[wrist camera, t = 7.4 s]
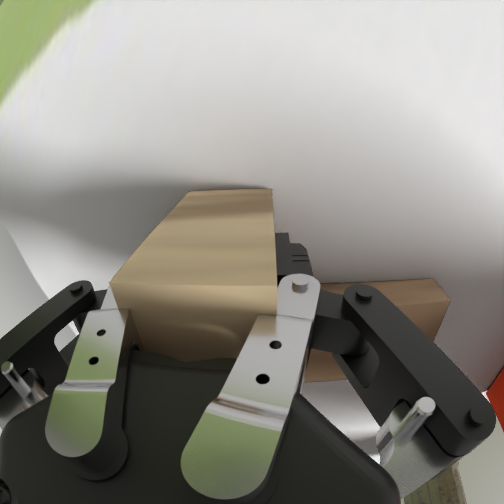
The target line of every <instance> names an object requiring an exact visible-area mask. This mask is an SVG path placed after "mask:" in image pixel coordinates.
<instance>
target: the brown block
mask: <svg viewBox="0 0 504 504" xmlns="http://www.w3.org/2000/svg"><path fill="white" fill-rule="evenodd" d="M355 284H365V285H369V286H372V287H374V288H376V289H378V290H379V291H380V292H381V293H382V294H383V295H385V296H386V297H387V298H388V299H389V300H390V301H391V302H392V303H393V304H394V305H395V306H396V307H397V308H398V309H400V310H401V311H402V312H403V313H404V314H405V315H406V316H407V317H408V318H409V319H410V320H411V321H412V322H413V323H414V324H415V325H416V326H417V327H418V328H419V329H420V330H421V331H422V332H423V333H424V334H425V335H426V336H427V337H428V338H429V339H430V340H431V341H432V342H433V341H434V338H435V336H436V334H437V332H438V330H439V327H440V325H441V323H442V320H443V318H444V315H445V313H446V311H447V308H448V305H449V303H450V299H449V298H448V296H447V295H446V294H445V292H444V291H443V290H442V289H441V287H440V286H439V285H438V284H437V282H436V281H435V280H434V279H418V280H401V281H382V282H360V283H333V284H320V288H322V289H323V290H326V291H328V292H332V293H337V294H342V295H343V294H344V290H345V289H346V288H347V287H349V286H351V285H355ZM345 379H347V377H346V376H345V374H344V373H343V371H342V370H341V368H340V367H339V365H338V364H337V362H336V361H335V359H334V358H333V356H332V353H331V352H326V351H321V350H317V349H311V354H310V358H309V363H308V367H307V371H306V375H305V379H304V382H320V381H333V380H345Z"/></svg>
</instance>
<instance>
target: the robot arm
mask: <svg viewBox="0 0 504 504" xmlns="http://www.w3.org/2000/svg"><path fill="white" fill-rule="evenodd" d="M275 249H276V268H277V315H275V314H260V313H259V315H258V317H257V319H256V321H255V323H254V325H253V327H252V329H251V332H250V334H249V336H248V338H247V340H246V342H245V344H244V346H243V348H242V350H241V352H240V354H239V356H238V358H215V359H208V360H200V361H192V362H184V361H180V360H177V359H174V358H171V357H168V356H165V355H162V354H159V353H156V352H148V351H145V349H144V346H143V344H142V341H141V339H140V336H139V333H138V331H137V328H136V325H135V323H134V320H133V317H132V314H131V311H130V308H118V307H117V304H116V301H115V299H114V296H113V293H112V290H111V287H110V285H109V288H108V289H106V290H100V291H94V289H93V286H92V284H91V282H89V281H78V282H75V283H72V284H70V285H69V286H67V287H66V288H65V289H63V290H62V291H61V292H59V293H58V294H56V295H55V296H54V297H52V298H51V299H50V300H48V301H47V302H46V303H44V304H43V305H42V306H41V307H39V308H38V309H37V310H35V311H34V312H33V313H32V314H30V315H29V316H28V317H26V318H25V319H24V320H23V321H21V322H20V323H19V324H18V325H16V326H15V327H14V328H13V329H12V330H11V331H9V332H8V333H7V334H6V335H4V336H3V337H2V338H1V339H0V427H1V428H2V430H3V431H2V433H1V436H0V504H401V499H402V498H404V497H405V496H407V495H408V494H410V493H411V492H413V491H414V490H416V489H417V488H419V487H420V486H422V485H423V484H424V483H426V482H427V481H428V480H432V479H434V478H436V477H437V476H439V475H440V474H442V473H443V472H445V471H446V470H448V469H449V468H450V467H452V466H453V465H454V464H456V463H457V462H458V461H460V460H461V459H462V458H464V457H465V456H466V455H467V454H469V453H470V452H471V451H472V450H474V449H475V448H476V447H477V446H478V445H479V444H481V443H482V442H483V441H484V440H485V439H486V438H487V437H488V436H489V435H490V434H491V433H492V432H493V430H494V428H495V424H496V414H495V411H494V408H493V407H492V405H491V404H490V402H489V401H488V400H487V399H486V398H485V397H484V396H483V394H482V393H481V392H480V391H479V390H478V389H477V388H476V387H475V386H474V385H473V383H472V382H471V381H470V380H469V379H468V378H467V377H466V376H465V375H464V374H463V373H462V372H461V370H460V369H459V368H458V367H457V366H456V365H455V364H454V363H453V362H452V361H451V360H450V359H449V358H448V357H447V356H446V355H445V354H444V353H443V352H442V351H441V350H440V349H439V348H438V347H437V346H436V345H435V344H434V343H433V342H432V341H431V340H430V339H429V338H428V337H427V336H426V335H425V334H424V333H423V332H422V331H421V330H420V329H419V328H418V327H417V326H416V325H415V324H414V323H413V322H412V321H411V320H410V319H409V318H408V317H407V316H406V315H405V314H404V313H403V312H402V311H401V310H400V309H398V308H397V307H396V306H395V305H394V304H393V303H392V302H391V301H390V300H389V299H388V298H387V297H386V296H385V295H383V294H382V293H381V292H380V291H379V290H378V289H376V288H374V287H372V286H369V285H365V284H355V285H351V286H349V287H347V288H346V289H345V290H344V294H343V295H342V294H337V293H332V292H328V291H326V290H323V289H322V288H320V282H319V281H318V280H317V279H316V278H314V277H313V273H312V269H311V265H310V261H309V257H308V254H307V250H306V248H305V247H303V246H302V245H301V244H290V241H289V235H288V233H275ZM72 320H73V321H74V323H75V326H76V328H77V330H78V332H79V335H78V336H77V337H75V338H74V339H73V340H72V341H71V342H70V343H69V344H68V345H66V346H65V347H64V348H63V349H62V350H61V351H60V352H59V351H58V350H57V348H56V346H55V344H54V338H55V336H56V334H57V333H58V332H59V331H60V330H61V329H63V328H64V327H65V326H66V325H67V324H69V323H70V322H71V321H72ZM311 349H317V350H321V351H326V352H331V353H332V356H333V358H334V359H335V361H336V362H337V364H338V365H339V367H340V368H341V370H342V371H343V373H344V374H345V376H346V377H347V379H348V380H349V382H350V383H351V385H352V386H353V387H354V389H355V390H356V392H357V393H358V395H359V396H360V398H361V399H362V401H363V402H364V404H365V405H366V407H367V408H368V410H369V411H370V413H371V414H372V416H373V417H374V419H375V420H376V422H377V423H378V425H379V426H380V429H379V431H378V433H377V435H376V446H377V448H378V451H379V453H380V464H378V463H377V462H376V461H374V460H373V459H372V458H371V457H370V456H368V455H367V454H366V453H365V452H364V451H363V450H361V449H360V448H359V447H358V446H357V445H356V444H354V443H353V442H352V441H351V440H350V439H349V438H348V437H346V436H345V435H344V434H343V433H342V432H341V431H340V430H339V429H337V428H336V427H335V426H334V425H333V424H332V423H331V422H330V421H329V420H328V419H326V418H325V417H324V416H323V415H322V414H321V413H320V412H319V411H318V410H317V409H316V408H315V407H314V406H313V405H312V404H310V403H309V402H308V401H307V400H306V399H305V398H304V397H303V396H302V395H301V393H302V388H303V384H304V379H305V375H306V371H307V367H308V363H309V358H310V354H311Z"/></svg>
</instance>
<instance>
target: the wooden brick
mask: <svg viewBox="0 0 504 504" xmlns="http://www.w3.org/2000/svg"><path fill="white" fill-rule="evenodd" d="M109 284H110V287H111V290H112V293H113V296H114V299H115V301H116V304H117V307H118V308H130V311H131V314H132V317H133V320H134V323H135V325H136V328H137V331H138V333H139V336H140V339H141V341H142V344H143V346H144V349H145V351H148V352H156V353H159V354H162V355H165V356H168V357H171V358H174V359H177V360H180V361H184V362H192V361H200V360H208V359H215V358H238V356H239V354H240V352H241V350H242V348H243V346H244V344H245V342H246V340H247V338H248V336H249V334H250V332H251V329H252V327H253V325H254V323H255V321H256V319H257V317H258V315H259V313H260V314H275V315H277V268H276V249H275V231H274V214H273V198H272V189H237V190H210V191H191V192H188V193H187V194H186V195H185V196H184V197H183V198H182V199H181V201H180V202H179V203H178V204H177V205H176V206H175V207H174V208H173V209H172V210H171V211H170V212H169V213H168V214H167V215H166V217H165V218H164V219H163V220H162V221H161V222H160V223H159V224H158V225H157V226H156V228H155V229H154V230H153V231H152V232H151V233H150V234H149V235H148V237H147V238H146V239H145V240H144V241H143V242H142V243H141V245H140V246H139V247H138V248H137V249H136V250H135V252H134V253H133V254H132V255H131V256H130V258H129V259H128V260H127V261H126V262H125V264H124V265H123V266H122V267H121V268H120V270H119V271H118V272H117V273H116V275H115V276H114V277H113V278H112V280H111V281H110V282H109Z"/></svg>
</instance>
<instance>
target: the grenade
mask: <svg viewBox="0 0 504 504" xmlns="http://www.w3.org/2000/svg"><path fill="white" fill-rule="evenodd" d="M458 465H459V461H458V462H457V463H456V464H454V465H453V466H452V467H450V468H449V469H448V470H446V471H445V472H443V473H442V474H440V475H439V476H437V477H436V478H434V479H432V480H428V481H427V482H426V483H424V484H423V485H422V486H420V487H419V488H417V489H416V490H414V491H413V492H411V493H410V494H408V495H407V496H405V497H404V502H405V504H467V503H466V499H465V494H464V490H463V486H462V482H461V478H460V474H459V471H458Z"/></svg>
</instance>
